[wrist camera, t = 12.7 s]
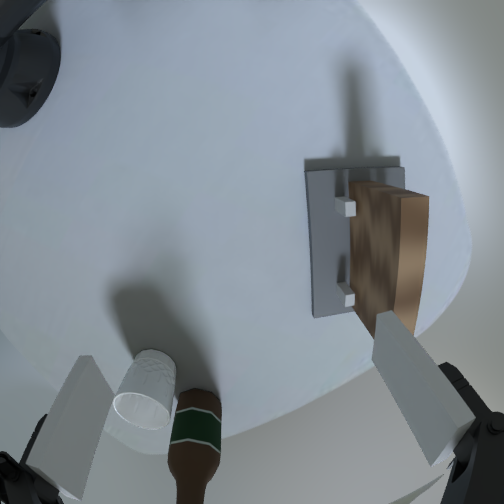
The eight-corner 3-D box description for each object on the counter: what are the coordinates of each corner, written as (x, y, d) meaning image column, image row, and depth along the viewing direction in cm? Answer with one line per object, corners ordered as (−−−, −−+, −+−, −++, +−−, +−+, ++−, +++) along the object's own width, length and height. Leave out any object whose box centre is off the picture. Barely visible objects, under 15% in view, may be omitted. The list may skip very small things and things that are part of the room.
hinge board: (304, 171, 32) (315, 173, 28) (399, 166, 33) (419, 169, 28) (312, 313, 39) (320, 332, 34) (394, 298, 39) (409, 313, 34)
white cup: (182, 351, 40) (171, 400, 30) (178, 387, 42) (169, 434, 33) (131, 340, 39) (109, 385, 29) (132, 376, 41) (116, 421, 32)
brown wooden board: (348, 181, 32) (401, 198, 21) (376, 180, 32) (435, 196, 21) (348, 302, 37) (385, 357, 26) (373, 298, 37) (415, 348, 26)
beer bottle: (231, 401, 44) (233, 531, 21) (204, 420, 45) (197, 538, 23) (193, 380, 42) (175, 518, 19) (168, 402, 43) (145, 524, 21)
